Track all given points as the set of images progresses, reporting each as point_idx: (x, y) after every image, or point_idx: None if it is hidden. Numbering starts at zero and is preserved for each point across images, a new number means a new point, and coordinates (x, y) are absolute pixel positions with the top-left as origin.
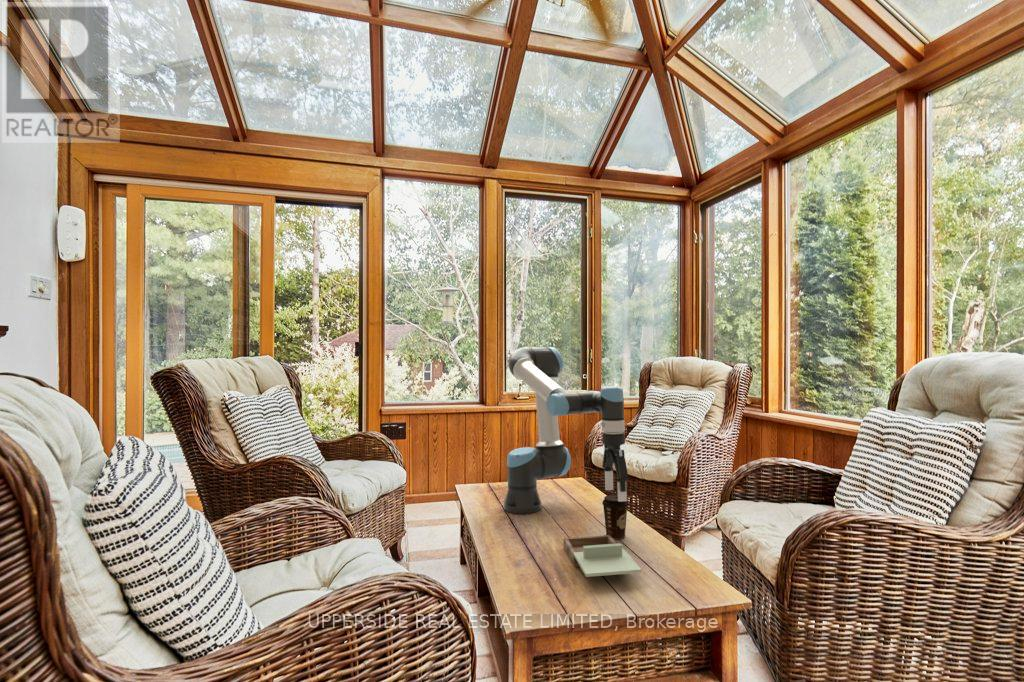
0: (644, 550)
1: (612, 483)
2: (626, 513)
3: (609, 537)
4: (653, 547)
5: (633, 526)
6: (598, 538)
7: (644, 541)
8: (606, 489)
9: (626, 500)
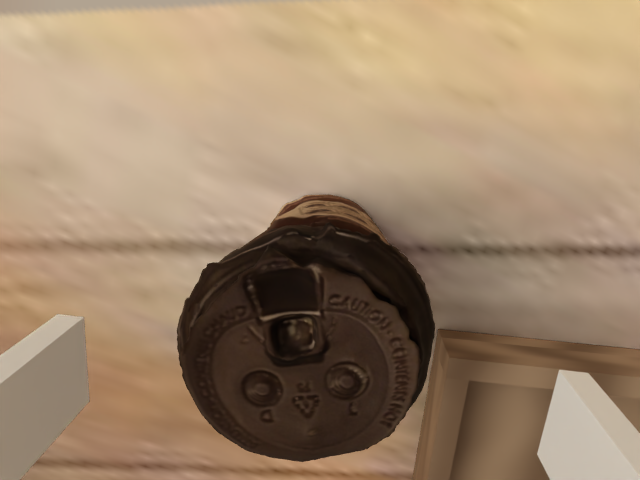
0: (580, 180)
1: (29, 370)
2: (374, 232)
3: (486, 373)
4: (563, 104)
5: (192, 64)
6: (458, 422)
7: (456, 114)
8: (81, 401)
9: (592, 381)
